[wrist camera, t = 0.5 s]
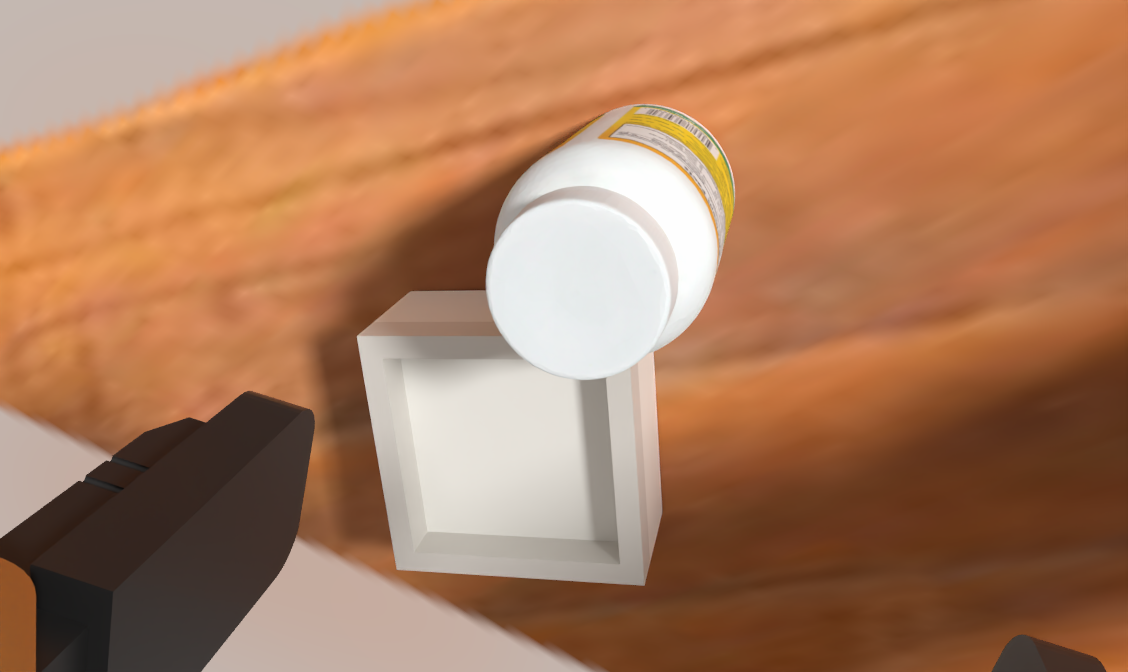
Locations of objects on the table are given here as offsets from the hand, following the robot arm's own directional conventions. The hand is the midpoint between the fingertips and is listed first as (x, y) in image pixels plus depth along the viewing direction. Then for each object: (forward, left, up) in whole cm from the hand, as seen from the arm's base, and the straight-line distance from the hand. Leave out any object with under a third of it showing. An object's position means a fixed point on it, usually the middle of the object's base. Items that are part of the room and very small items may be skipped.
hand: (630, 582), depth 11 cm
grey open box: (+7, +7, -19) cm, 21 cm away
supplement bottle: (+3, 0, -19) cm, 19 cm away
